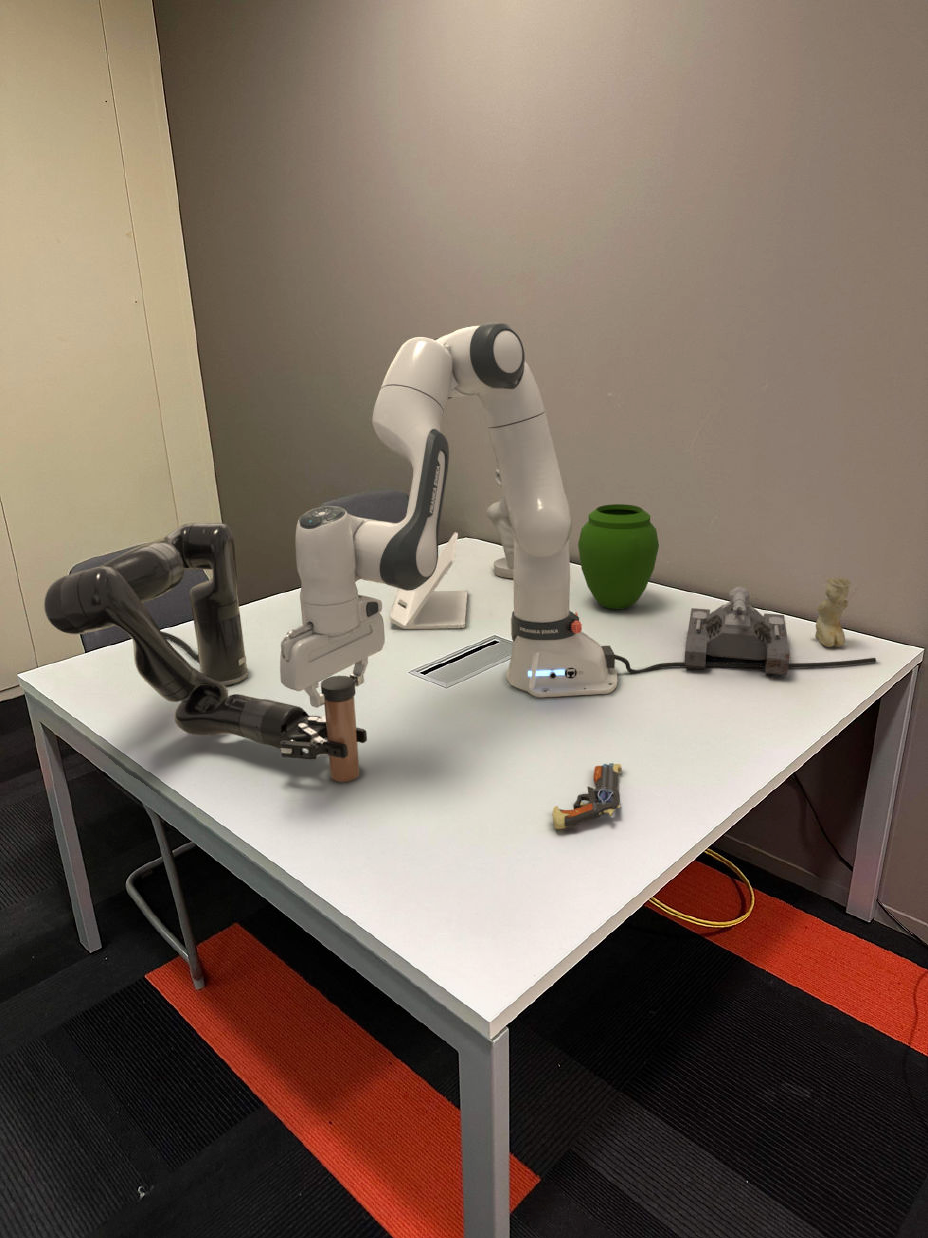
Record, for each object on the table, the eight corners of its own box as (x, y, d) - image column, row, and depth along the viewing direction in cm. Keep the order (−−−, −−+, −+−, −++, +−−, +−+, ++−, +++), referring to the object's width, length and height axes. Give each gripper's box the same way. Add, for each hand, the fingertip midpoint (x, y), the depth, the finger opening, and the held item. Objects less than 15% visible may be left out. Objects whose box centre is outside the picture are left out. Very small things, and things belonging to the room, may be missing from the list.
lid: (361, 695, 136) (361, 683, 135) (332, 704, 133) (331, 693, 132) (345, 683, 140) (344, 672, 139) (315, 692, 137) (314, 681, 136)
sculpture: (821, 649, 184) (830, 583, 179) (808, 637, 191) (816, 573, 185) (848, 649, 184) (858, 582, 179) (834, 636, 191) (843, 572, 185)
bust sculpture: (503, 593, 225) (502, 460, 212) (483, 567, 247) (480, 445, 234) (562, 587, 228) (563, 456, 215) (536, 562, 250) (536, 441, 237)
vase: (599, 587, 227) (601, 497, 218) (668, 600, 216) (673, 505, 208) (562, 608, 212) (564, 513, 204) (634, 623, 202) (639, 523, 193)
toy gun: (550, 818, 123) (620, 816, 121) (560, 760, 141) (621, 758, 139) (552, 835, 124) (621, 833, 122) (562, 775, 142) (622, 773, 140)
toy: (689, 628, 198) (694, 566, 192) (781, 635, 192) (788, 571, 187) (683, 672, 175) (688, 603, 170) (787, 681, 170) (795, 610, 164)
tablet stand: (467, 593, 225) (465, 531, 219) (465, 628, 202) (462, 559, 196) (399, 594, 226) (395, 532, 220) (388, 629, 203) (384, 560, 197)
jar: (350, 784, 139) (343, 694, 133) (324, 778, 140) (317, 689, 135) (364, 770, 143) (358, 681, 137) (339, 764, 144) (332, 677, 139)
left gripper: (242, 721, 138) (327, 743, 131) (297, 687, 150) (379, 705, 143) (247, 762, 141) (331, 785, 133) (301, 725, 153) (381, 744, 145)
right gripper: (295, 639, 122) (305, 725, 127) (388, 598, 137) (393, 676, 142) (265, 630, 125) (275, 714, 130) (359, 591, 141) (365, 668, 146)
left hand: (355, 744), depth 138 cm, fingers closed on jar, 5 cm apart
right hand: (338, 694), depth 136 cm, fingers open, 8 cm apart
